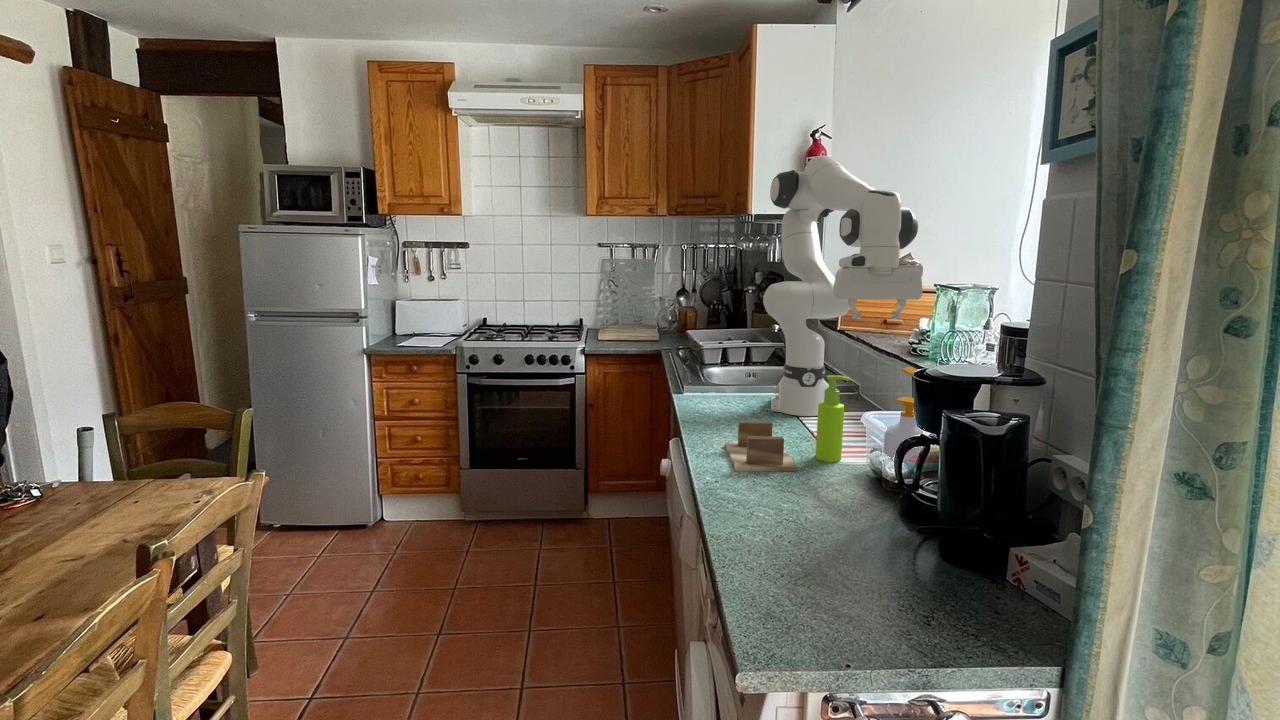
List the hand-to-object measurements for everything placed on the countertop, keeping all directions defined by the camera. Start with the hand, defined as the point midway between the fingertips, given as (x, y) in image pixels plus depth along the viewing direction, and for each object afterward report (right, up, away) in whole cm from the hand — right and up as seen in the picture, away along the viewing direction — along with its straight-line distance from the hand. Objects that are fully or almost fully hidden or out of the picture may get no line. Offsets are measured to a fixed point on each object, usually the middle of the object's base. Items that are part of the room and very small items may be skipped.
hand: (876, 318), depth 160 cm
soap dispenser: (-11, -33, +1) cm, 35 cm away
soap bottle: (+1, -36, -13) cm, 38 cm away
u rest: (-28, -33, 0) cm, 43 cm away
